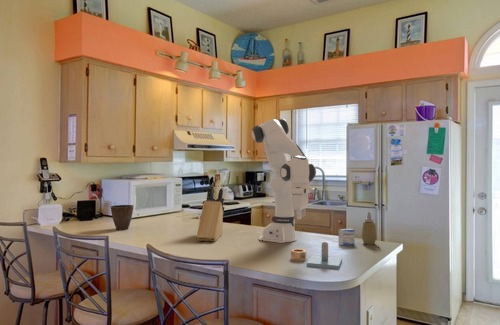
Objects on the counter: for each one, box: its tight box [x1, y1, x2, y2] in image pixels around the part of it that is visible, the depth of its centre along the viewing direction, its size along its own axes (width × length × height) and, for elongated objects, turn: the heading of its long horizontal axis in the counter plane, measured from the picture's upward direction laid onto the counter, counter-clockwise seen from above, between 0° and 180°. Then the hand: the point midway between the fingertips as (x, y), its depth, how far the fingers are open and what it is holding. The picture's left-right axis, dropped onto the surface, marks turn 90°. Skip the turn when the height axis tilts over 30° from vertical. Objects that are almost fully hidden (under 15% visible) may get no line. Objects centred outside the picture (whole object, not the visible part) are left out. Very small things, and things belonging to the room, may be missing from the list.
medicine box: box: [338, 228, 356, 246], centre depth 210 cm, size 8×4×9 cm, turn 105°
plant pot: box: [110, 204, 134, 231], centre depth 255 cm, size 15×15×16 cm
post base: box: [306, 241, 343, 270], centre depth 171 cm, size 14×14×10 cm
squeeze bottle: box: [361, 211, 377, 246], centre depth 212 cm, size 8×8×18 cm
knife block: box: [195, 185, 225, 243], centre depth 231 cm, size 11×35×31 cm, turn 174°
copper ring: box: [290, 248, 307, 262], centre depth 179 cm, size 7×7×4 cm
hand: (301, 217), depth 180 cm, fingers open, 8 cm apart
